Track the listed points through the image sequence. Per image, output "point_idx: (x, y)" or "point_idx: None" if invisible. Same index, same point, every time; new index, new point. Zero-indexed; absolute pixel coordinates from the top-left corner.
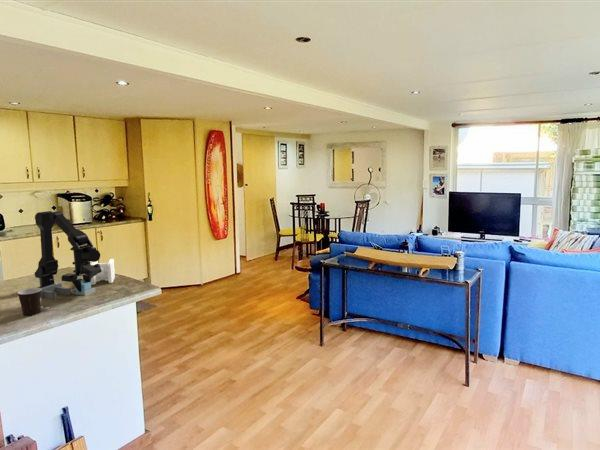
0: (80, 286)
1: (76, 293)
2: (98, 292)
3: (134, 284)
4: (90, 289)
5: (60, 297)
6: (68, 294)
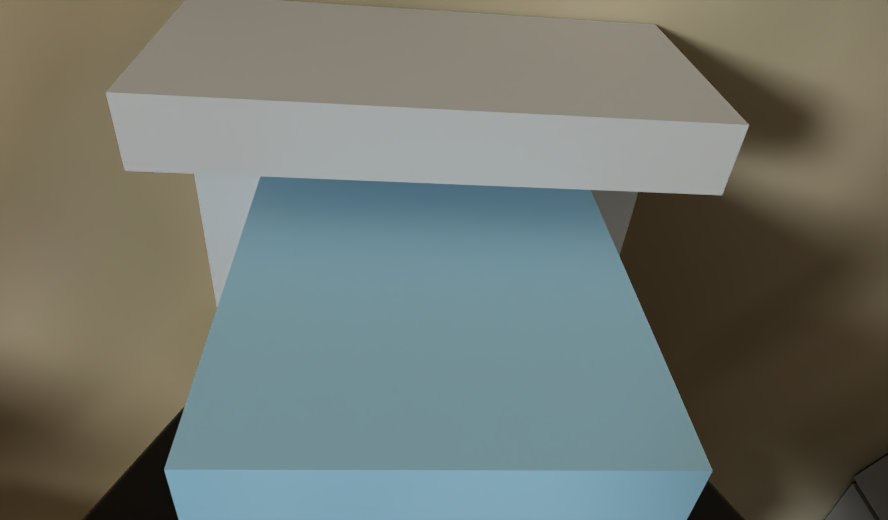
0: None
1: None
2: (24, 5)
3: None
4: (413, 115)
5: None
6: None
